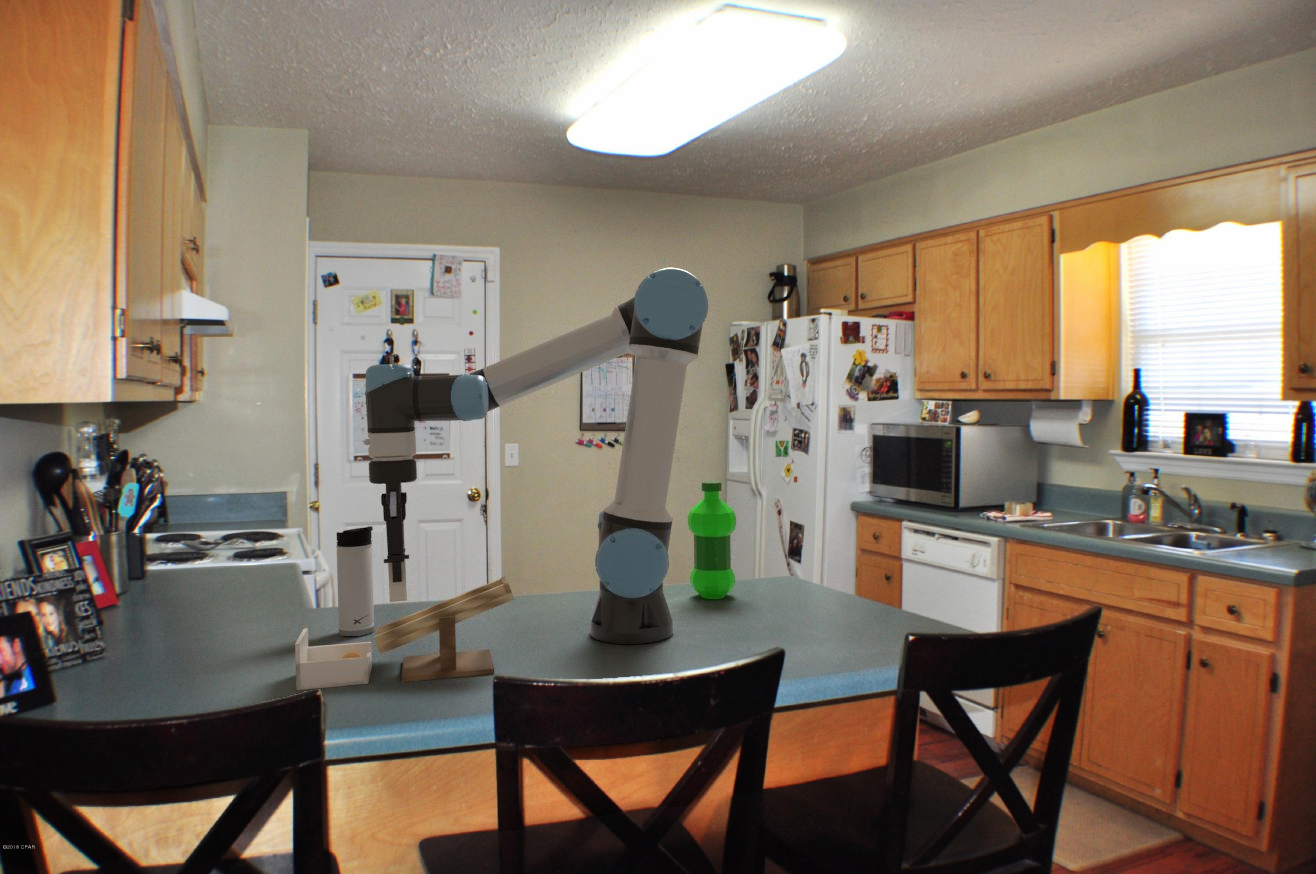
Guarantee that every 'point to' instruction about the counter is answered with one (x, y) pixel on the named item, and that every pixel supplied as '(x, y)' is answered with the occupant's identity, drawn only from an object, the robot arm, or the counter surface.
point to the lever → (429, 617)
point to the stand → (447, 659)
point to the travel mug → (355, 582)
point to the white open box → (331, 664)
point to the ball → (350, 655)
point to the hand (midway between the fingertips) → (398, 600)
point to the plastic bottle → (712, 544)
